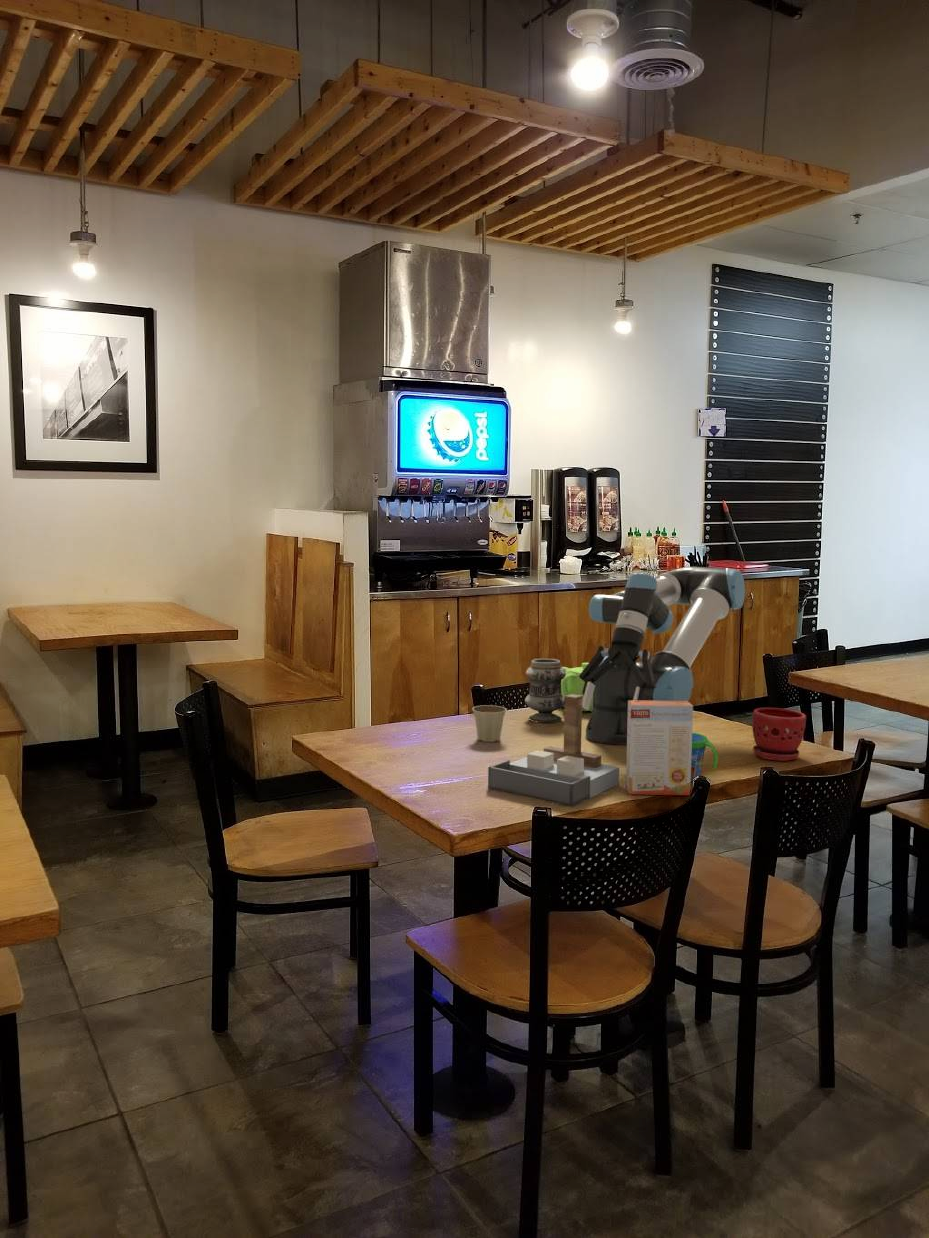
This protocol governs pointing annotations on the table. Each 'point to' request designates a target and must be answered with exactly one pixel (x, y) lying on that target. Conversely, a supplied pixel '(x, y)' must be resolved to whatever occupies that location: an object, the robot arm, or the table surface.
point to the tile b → (570, 765)
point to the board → (599, 776)
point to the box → (537, 785)
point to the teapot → (574, 683)
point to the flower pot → (489, 722)
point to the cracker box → (659, 747)
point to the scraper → (574, 734)
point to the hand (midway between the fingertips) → (608, 711)
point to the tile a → (540, 759)
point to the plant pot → (778, 733)
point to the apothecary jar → (545, 689)
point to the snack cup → (700, 754)
